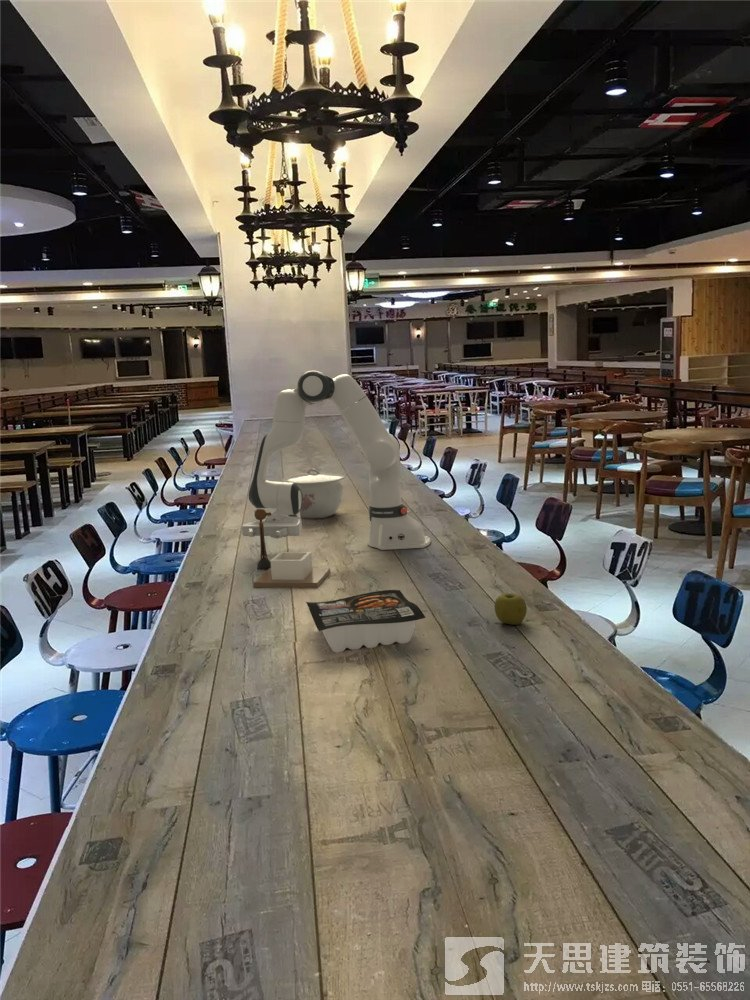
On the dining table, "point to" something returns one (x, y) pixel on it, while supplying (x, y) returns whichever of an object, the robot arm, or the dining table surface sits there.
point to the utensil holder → (292, 572)
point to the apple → (510, 608)
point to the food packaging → (366, 619)
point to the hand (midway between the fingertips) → (264, 534)
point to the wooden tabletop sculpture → (262, 540)
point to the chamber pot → (318, 492)
